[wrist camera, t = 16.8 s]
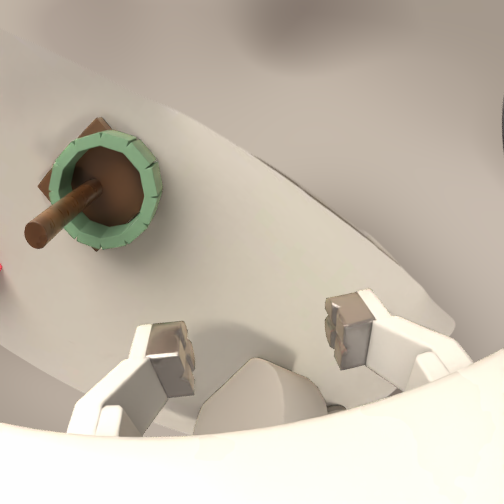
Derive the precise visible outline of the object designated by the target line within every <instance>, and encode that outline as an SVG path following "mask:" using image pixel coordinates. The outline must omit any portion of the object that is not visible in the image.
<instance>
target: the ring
mask: <svg viewBox="0 0 504 504" xmlns="http://www.w3.org/2000/svg"><path fill="white" fill-rule="evenodd" d="M136 139H137V137H135V136H132V135H128V134H125V133H122V132H119V131H116V130H106V131H102V132H98V133H95V134H91V135H88V136H85V137H82V138H78V139H75V141H72V142H71V143H70V144H69V145H68V146H67V148H66V149H65V150H64V151H63V152H62V153H61V155H60V156H59V157H58V158H57V159H56V161H55V162H56V164H54V165H53V169H52V174H51V179H50V184H49V190H50V191H51V192H50V193H49V197H50V200H51V204H52V205H53V204H54V203H56V202H57V201H59V200H60V199H61V198H63V197H64V196H66V195H67V194H69V193H70V192H72V187H71V181H72V177H73V172H74V168H75V164H76V162H77V161H78V160H79V159H80V158H81V157H82V156H83V155H84V154H85V153H86V151H87V150H88V149H90V148H94V147H98V146H103V147H106V148H109V149H112V150H115V151H118V152H121V153H123V154H124V155H125V156H126V157H127V158H128V159H129V160H130V162H131V163H132V164H133V165H134V166H135V167H136V169H137V170H138V171H139V172H140V177H141V182H142V187H143V191H144V196H145V197H144V200H143V203H142V207H141V210H140V213H139V214H138V215H137V216H136V217H135V218H134V219H133V220H132V221H131V222H130V223H128V224H123V225H117V226H112V227H108V226H105V225H102V224H99V223H96V222H93V221H91V220H89V219H88V217H87V216H86V215H85V214H84V213H83V212H80V213H79V214H78V215H77V216H76V217H75V218H74V219H73V220H72V221H71V222H69V223H68V224H67V225H66V226H65V227H64V229H65V230H66V231H67V232H68V233H69V234H70V235H71V237H72V238H73V239H75V238H76V237H77V241H78V242H80V243H83V244H86V245H88V246H91V247H94V248H97V249H100V248H101V247H102V249H103V250H104V249H109V248H115V247H121V246H126V245H127V243H128V244H130V243H131V242H132V241H133V240H134V239H135V238H137V237H138V236H139V235H140V234H141V233H142V232H143V231H145V230H146V229H147V228H148V226H149V224H150V223H151V221H152V219H153V217H154V215H155V213H156V210H157V207H158V204H159V201H160V198H161V195H162V192H163V191H162V188H163V185H162V180H161V175H160V170H159V164H158V162H154V161H155V160H156V158H155V156H154V155H153V154H152V153H151V152H150V151H149V149H148V148H147V147H146V146H145V145H144V144H143V142H142V141H141V140H140V139H139V140H136ZM153 162H154V163H153Z"/></svg>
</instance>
